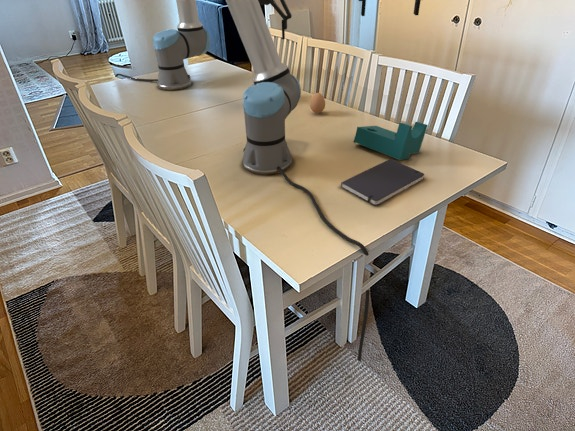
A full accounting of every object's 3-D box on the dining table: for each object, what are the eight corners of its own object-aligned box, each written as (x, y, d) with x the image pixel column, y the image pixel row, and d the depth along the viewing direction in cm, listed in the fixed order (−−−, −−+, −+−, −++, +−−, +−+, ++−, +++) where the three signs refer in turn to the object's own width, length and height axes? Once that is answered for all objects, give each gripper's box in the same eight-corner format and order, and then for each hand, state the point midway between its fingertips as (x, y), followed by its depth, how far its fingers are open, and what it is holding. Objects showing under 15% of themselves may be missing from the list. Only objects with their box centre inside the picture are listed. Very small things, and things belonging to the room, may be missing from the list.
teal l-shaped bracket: (417, 156, 130) (427, 124, 125) (399, 160, 122) (409, 126, 118) (372, 139, 141) (380, 110, 136) (353, 141, 133) (361, 110, 129)
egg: (314, 117, 155) (314, 96, 150) (307, 111, 159) (307, 91, 155) (327, 114, 157) (328, 94, 152) (320, 109, 161) (320, 89, 157)
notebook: (389, 163, 124) (340, 187, 113) (390, 158, 123) (341, 182, 112) (424, 178, 116) (375, 206, 105) (425, 174, 115) (376, 201, 104)
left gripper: (226, -22, 144) (233, 41, 156) (296, -24, 142) (297, 40, 154) (230, -25, 150) (236, 37, 162) (297, -26, 148) (298, 36, 160)
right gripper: (346, -86, 90) (341, 18, 103) (461, -90, 89) (441, 16, 101) (345, -86, 96) (340, 12, 109) (452, -89, 95) (434, 11, 107)
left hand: (266, 38), depth 158 cm, fingers open, 13 cm apart
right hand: (389, 15), depth 105 cm, fingers open, 13 cm apart
